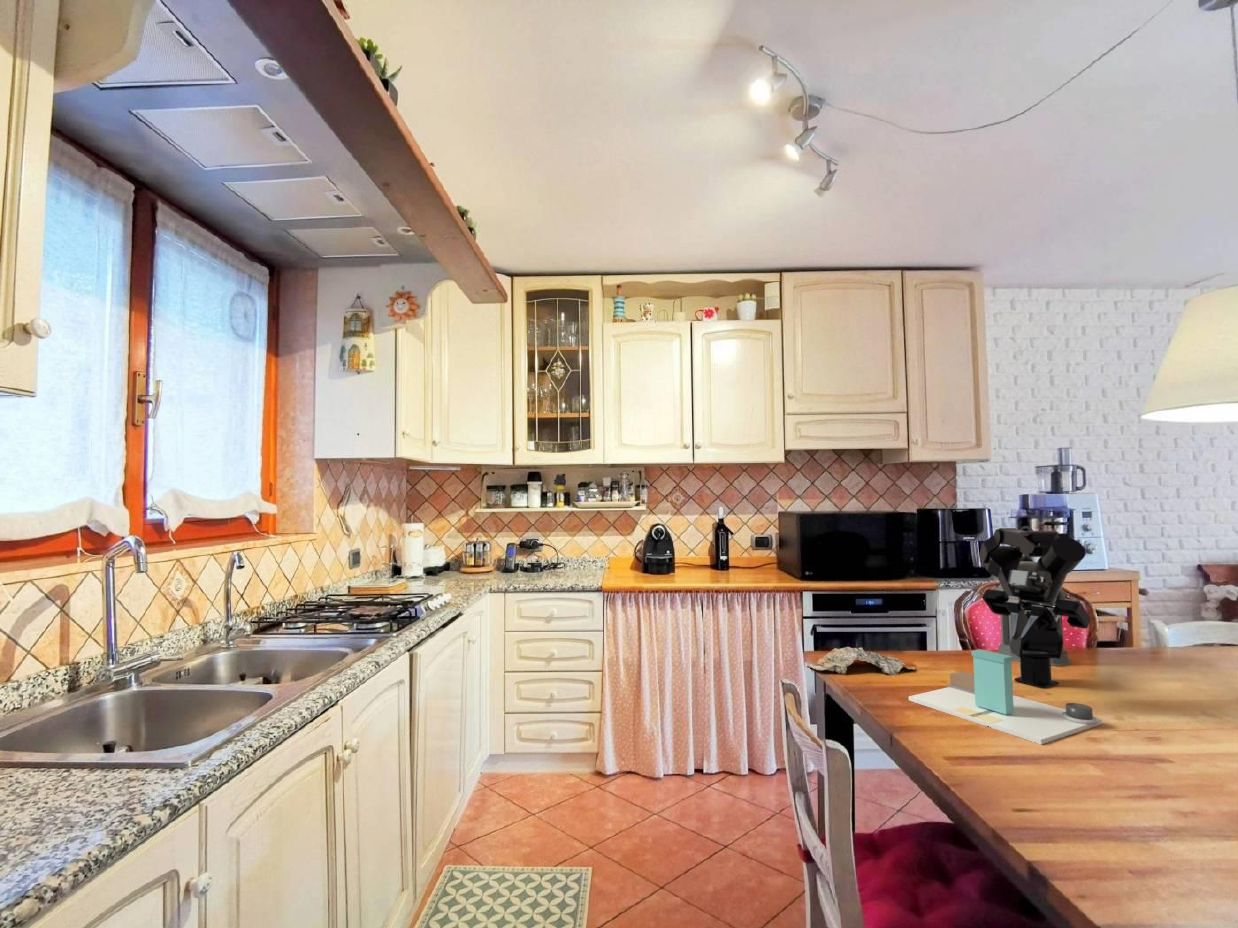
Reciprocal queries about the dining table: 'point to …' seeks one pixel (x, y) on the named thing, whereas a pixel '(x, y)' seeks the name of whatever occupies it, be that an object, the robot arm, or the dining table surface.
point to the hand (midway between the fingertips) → (1018, 639)
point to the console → (1025, 720)
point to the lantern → (1007, 622)
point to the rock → (845, 657)
